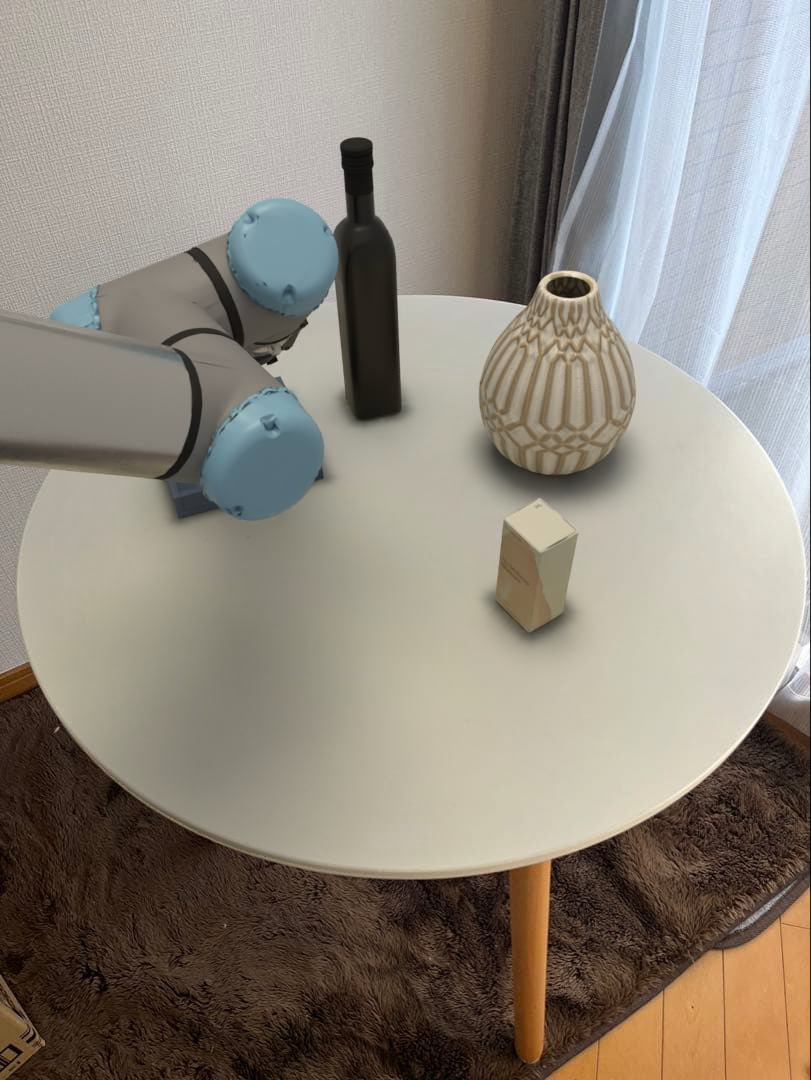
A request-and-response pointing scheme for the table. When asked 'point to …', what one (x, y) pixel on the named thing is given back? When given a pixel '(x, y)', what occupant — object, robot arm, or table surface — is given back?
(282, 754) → the table surface
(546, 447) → the vase
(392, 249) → the wine bottle
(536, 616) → the box
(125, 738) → the table surface
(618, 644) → the table surface
